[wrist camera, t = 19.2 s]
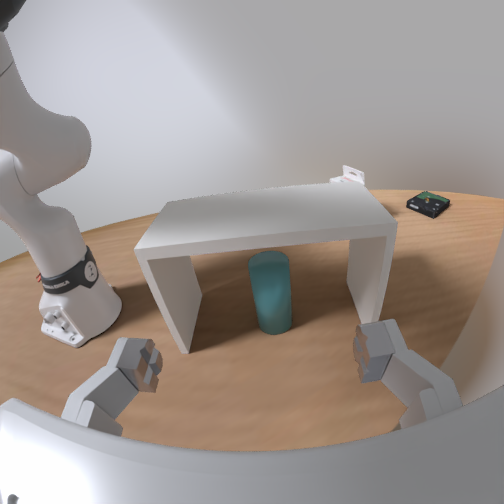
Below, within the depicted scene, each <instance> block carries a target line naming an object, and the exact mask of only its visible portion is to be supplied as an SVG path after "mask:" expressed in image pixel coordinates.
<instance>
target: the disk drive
mask: <svg viewBox="0 0 504 504" xmlns="http://www.w3.org/2000/svg"><path fill="white" fill-rule="evenodd" d="M449 203H450V200H449V199H446V198H444V197H441V196H439V195H435V194H432V193H429V192H428V191H426V192H425V191H424V192H422V193H420V194H419V195H417V196H415V197H413V198H411V199H409V200H408V201H407V205H406V208H409V209H411V210H414V211H416V212H419V213H421V214H423V215H426V216H428V217H431V218H433V219H434V218H435V217H437V216H438V215H439V214H440V213H441V212H442V211H444V210H445V209H446V208H447V207H448V206H449Z"/></svg>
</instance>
